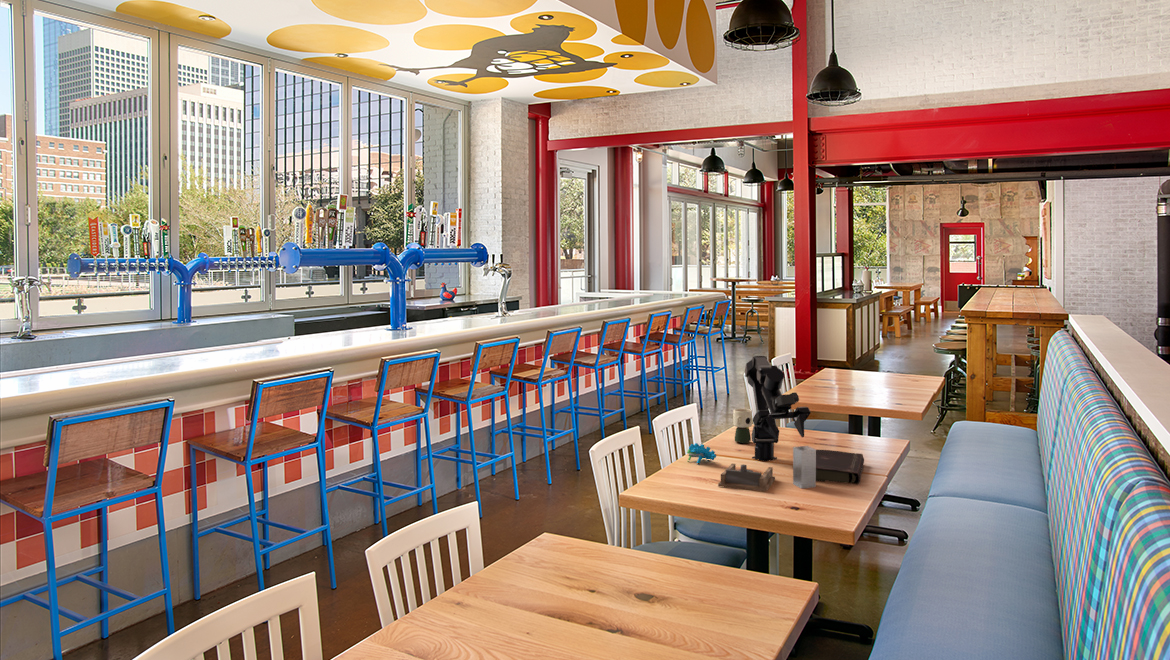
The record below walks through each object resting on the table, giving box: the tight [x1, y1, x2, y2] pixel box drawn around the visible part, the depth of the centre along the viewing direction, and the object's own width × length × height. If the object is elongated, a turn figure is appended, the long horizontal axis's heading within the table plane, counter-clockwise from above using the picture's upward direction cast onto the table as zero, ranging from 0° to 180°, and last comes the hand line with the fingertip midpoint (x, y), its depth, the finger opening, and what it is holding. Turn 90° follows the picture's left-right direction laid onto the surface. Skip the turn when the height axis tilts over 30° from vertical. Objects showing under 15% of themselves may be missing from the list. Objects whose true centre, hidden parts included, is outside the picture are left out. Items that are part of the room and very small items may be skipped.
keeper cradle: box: [717, 463, 776, 493], centre depth 244 cm, size 14×15×7 cm
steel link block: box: [792, 445, 817, 489], centre depth 240 cm, size 5×5×12 cm
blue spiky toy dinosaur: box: [686, 442, 717, 464], centre depth 270 cm, size 11×6×10 cm
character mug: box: [732, 408, 753, 444], centre depth 298 cm, size 11×7×13 cm, turn 147°
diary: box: [816, 449, 865, 486], centre depth 255 cm, size 19×25×5 cm
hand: (790, 437), depth 247 cm, fingers open, 9 cm apart
